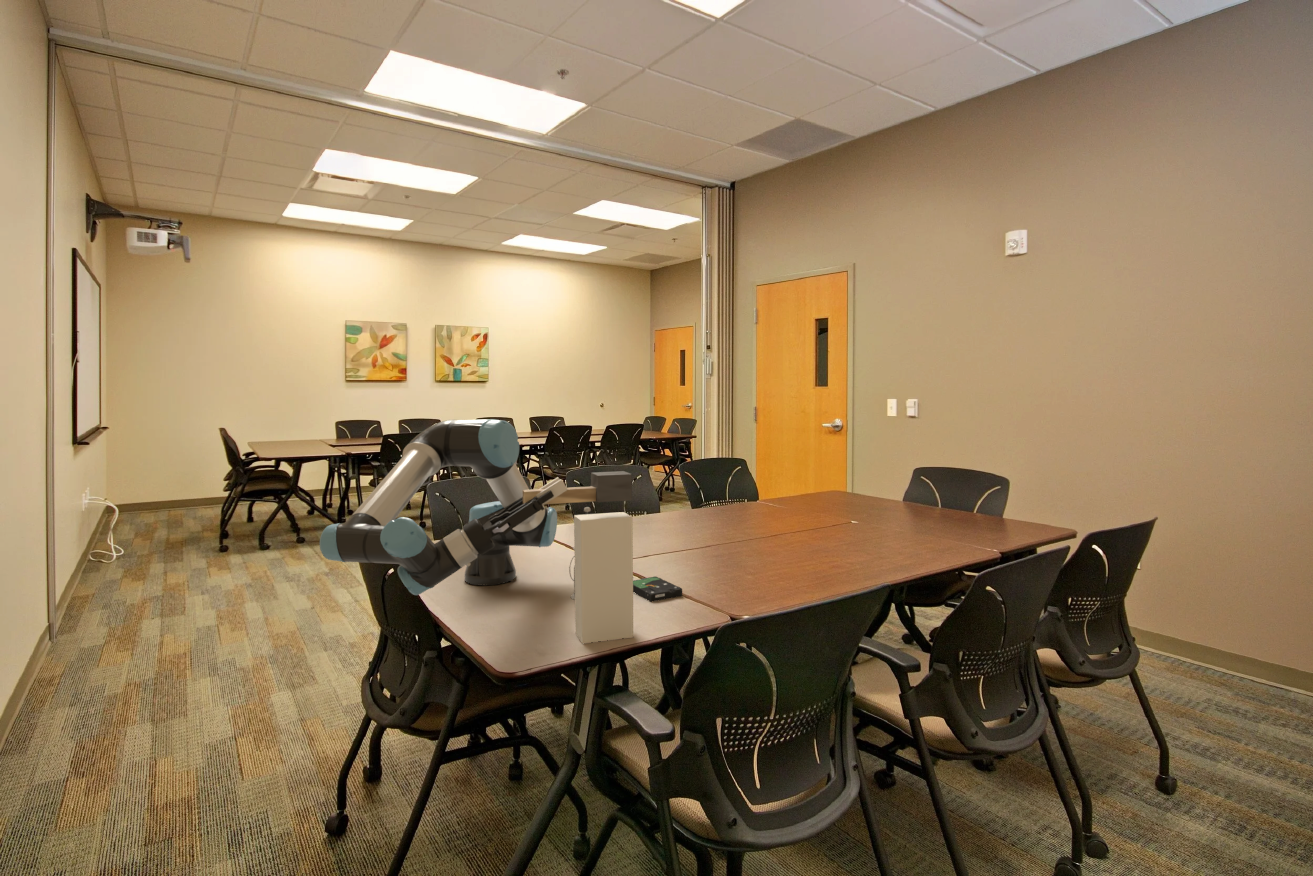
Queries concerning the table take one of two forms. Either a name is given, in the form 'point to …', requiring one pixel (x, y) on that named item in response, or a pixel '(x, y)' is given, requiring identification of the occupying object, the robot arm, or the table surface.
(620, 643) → the table surface
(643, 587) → the disk drive
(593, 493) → the mallet
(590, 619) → the stand
